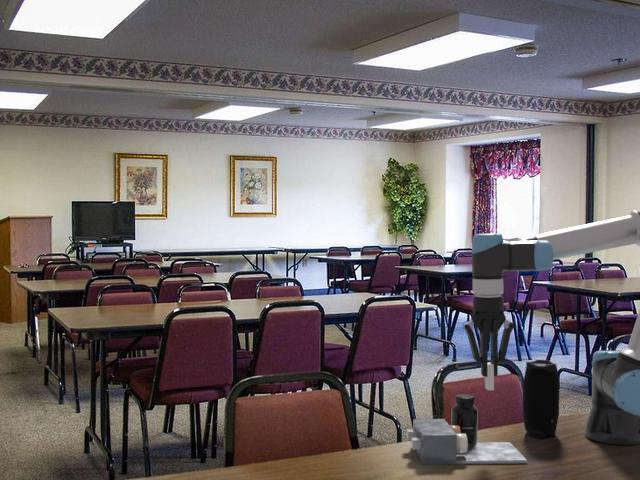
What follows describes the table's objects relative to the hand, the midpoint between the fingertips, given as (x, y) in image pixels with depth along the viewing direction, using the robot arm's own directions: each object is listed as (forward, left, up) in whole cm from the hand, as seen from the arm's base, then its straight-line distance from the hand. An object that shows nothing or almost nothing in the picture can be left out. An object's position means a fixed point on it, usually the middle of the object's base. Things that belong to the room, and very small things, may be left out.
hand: (489, 389), depth 191 cm
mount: (+6, +3, -15) cm, 17 cm away
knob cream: (+14, +7, -14) cm, 21 cm away
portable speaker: (-17, -13, -16) cm, 27 cm away
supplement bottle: (+5, -7, -16) cm, 18 cm away
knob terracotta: (+14, 0, -14) cm, 20 cm away
